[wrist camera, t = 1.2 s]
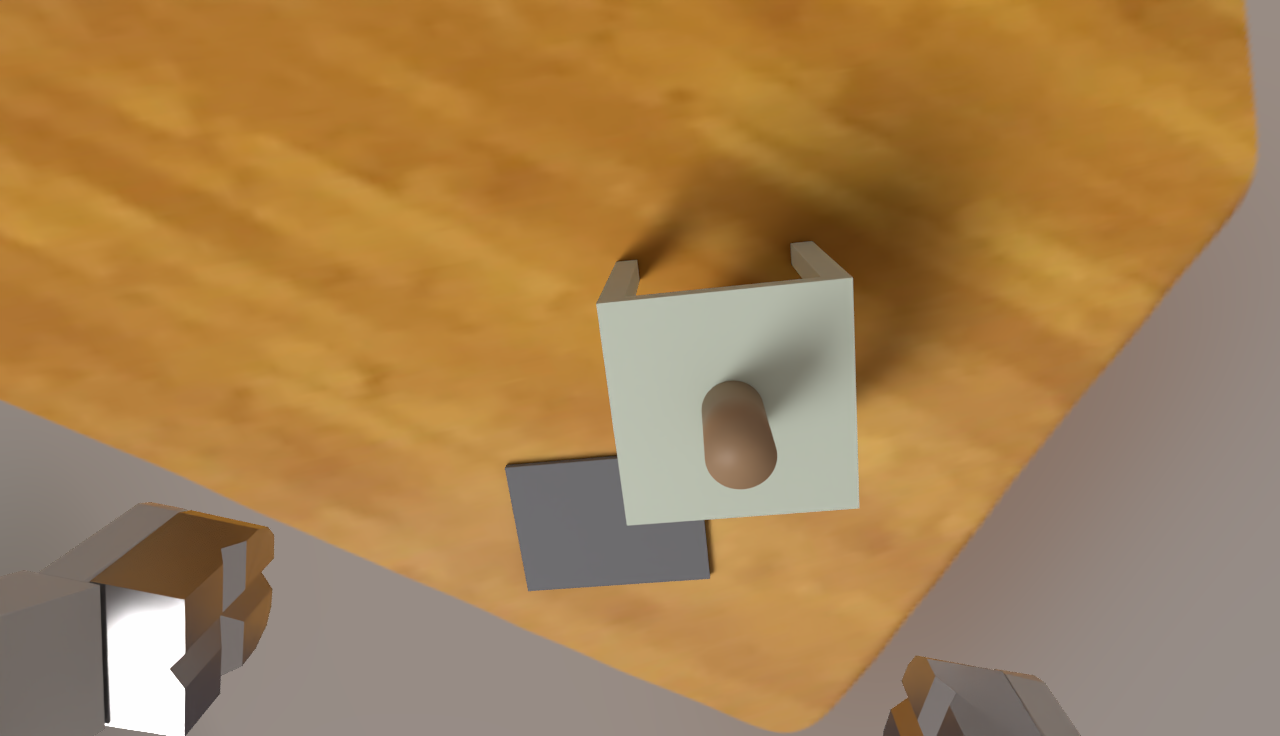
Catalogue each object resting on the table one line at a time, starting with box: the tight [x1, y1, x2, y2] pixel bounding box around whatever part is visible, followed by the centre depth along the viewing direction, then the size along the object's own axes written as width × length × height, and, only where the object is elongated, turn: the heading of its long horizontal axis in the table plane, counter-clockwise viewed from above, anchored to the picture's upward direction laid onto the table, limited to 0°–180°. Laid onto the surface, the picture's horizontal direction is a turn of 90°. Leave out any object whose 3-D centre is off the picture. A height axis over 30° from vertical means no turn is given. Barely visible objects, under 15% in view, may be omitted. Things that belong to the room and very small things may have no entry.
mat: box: [505, 456, 710, 591], centre depth 47 cm, size 12×9×1 cm
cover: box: [596, 241, 859, 526], centre depth 36 cm, size 11×11×15 cm
